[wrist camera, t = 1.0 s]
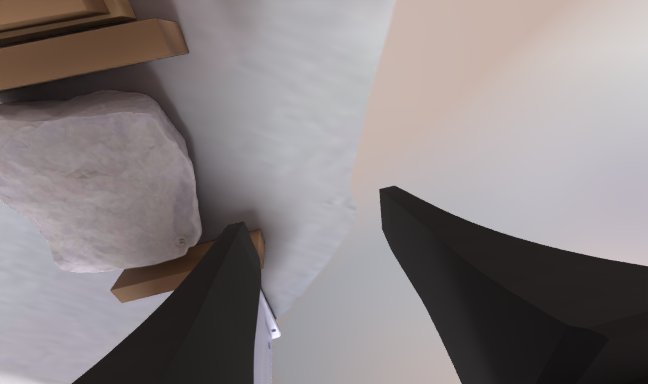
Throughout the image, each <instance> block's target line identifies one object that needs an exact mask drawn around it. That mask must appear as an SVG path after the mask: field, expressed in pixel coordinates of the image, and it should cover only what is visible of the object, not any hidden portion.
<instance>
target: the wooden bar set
mask: <svg viewBox="0 0 648 384" xmlns="http://www.w3.org/2000/svg"><path fill="white" fill-rule="evenodd" d="M187 53H189V51H188V49H187V46H186V44H185V41H184V39H183V36H182V34H181V31H180V29H179V26H178V24H177V22H172V21H167V20H163V19H158V18H151V19H146V20H141V21H136V22H131V23H126V24H121V25H116V26H111V27H106V28H101V29H96V30H91V31H86V32H81V33H76V34H71V35H66V36H61V37H56V38H50V39H45V40H40V41H35V42H30V43H25V44H20V45H15V46H10V47H5V48H0V92H2V91H7V90H12V89H17V88H22V87H27V86H32V85H36V84H41V83H46V82H51V81H56V80H61V79H66V78H70V77H75V76H80V75H85V74H90V73H95V72H100V71H104V70H109V69H114V68H119V67H124V66H129V65H134V64H138V63H143V62H148V61H153V60H158V59H163V58H168V57H172V56H177V55H182V54H187ZM249 234H250V237H251V239H252V241H253V244H254V246H255V248H256V251H257V253H258V255H259V257H260V264H261V269H262V268H263V265H264V249H265V242H264V239H263V237H262V234H261V232H260V230H257V231H253V232H249ZM215 241H216V240H215ZM215 241H211V242H207V243H203V244H199V245H195V246H193V247H189V248H188V251H187V253H186V254H185V255H183V256H181V257H178V258H175V259H173V260H168V261H165V262H161V263H158V264H155V265H149V266H142V267H135V268H128V269H124V271H123V272H122V274H121V275H120V277H119V278H118V280H117V281H116V283H115V284H114V286H113V287H112V288H111V290H110V291H111V292H112V293H113V294H114V295H115V296H116V297H117V298H118V299H119V301H120V302H121V303H124V302H128V301H132V300H137V299H141V298H145V297H149V296H153V295H157V294H161V293H165V292H169V291H173V290H175V289H176V288H177V287H178V286H179V285H180V284H181V282H182V281H183V280H184V279H185V278H186V277H187V276H188V274H189V273H190V272H191V271H192V270H193V269H194V267H195V266H196V265H197V264H198V263H199V261H200V260H201V259H202V258H203V256H204V255H205V254H206V253H207V251H208V250H209V249H210V247H211V246H212V245H213V244H214V242H215Z"/></svg>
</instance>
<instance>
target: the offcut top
mask: <svg viewBox="0 0 648 384" xmlns="http://www.w3.org/2000/svg"><path fill="white" fill-rule="evenodd" d="M106 14H110V12H109V10H108V8H107V6H106V4H105V2H104V0H0V33H3V32H9V31H14V30H20V29H26V28H32V27H37V26H43V25H49V24H55V23H60V22H66V21H72V20H78V19H83V18H89V17H95V16H100V15H106Z"/></svg>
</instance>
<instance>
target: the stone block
mask: <svg viewBox="0 0 648 384" xmlns="http://www.w3.org/2000/svg"><path fill="white" fill-rule="evenodd" d="M0 199H1V201H2V202H3V203H4V204H6V205H7V206H9V207H10V208H12V209H13V210H15V211H17V212H19V213H21V214H22V215H24V216H25V217H27V218H28V219H29V220H30V221H31V222H32V223H34V224H35V225H36V227H37V228H38V229H39V230H40V233H41V235H42V237H43V238H44V239H45V240H46V241H47V242H48V243H49V244H50V248H51V251H52V255H53V259H54V262H55V263H56V265H57V266H59V267H60V268H61V269H63V270H67V271H70V272H95V273H100V272H108V271H112V270H121V269H128V268H135V267H142V266H149V265H155V264H158V263H161V262H165V261H168V260H173V259H175V258H178V257H181V256H183V255H185V254H186V253H187V251H188V248H189V247H193V246H195V245H196V243H197V242H198V241H199V239H200V237H201V235H202V227H201V221H200V216H199V210H198V199H197V196H196V180H195V176H194V170H193V164H192V162H191V160H190V158H189V156H188V150H187V148H186V144H185V139H184V138H183V137H182V136H181V134H180V133H179V132H178V130H177V129H176V128H175V127H174V125H173V123H172V122H171V121H170V119H169V118H168V117H167V116H166V114H165V113H164V112H163V110H162V109H161V107H160V106H159V104H158V102H156V101H155V100H154V99H152V98H151V97H150V96H149V95H147V94H145V93H139V92H123V91H117V90H105V89H102V90H100V91H96V92H93V93H90V94H85V95H81V94H80V95H78V96H76V97H74V98H72V99H70V100H61V101H59V100H50V101H49V100H42V101H25V102H12V103H10V104H0Z"/></svg>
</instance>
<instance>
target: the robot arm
mask: <svg viewBox="0 0 648 384" xmlns="http://www.w3.org/2000/svg"><path fill="white" fill-rule="evenodd" d="M380 205H381V218H382V230H383V232H384V234H385V237H386V239H387V241H388V244H389V246H390V248H391V250H392V252H393V254H394V255H395V257H396V259H397V260H398V262H399V264H400V265H401V267H402V269H403V270H404V272H405V273H406V275H407V277H408V278H409V280H410V282H411V283H412V285H413V286H414V288H415V290H416V291H417V293H418V294H419V296H420V298H421V299H422V301H423V303H424V305H425V307H426V309H427V311H428V313H429V315H430V317H431V319H432V321H433V323H434V325H435V327H436V329H437V331H438V333H439V335H440V337H441V339H442V342H443V344H444V346H445V348H446V350H447V352H448V354H449V356H450V359H451V361H452V363H453V365H454V367H455V369H456V372H457V374H458V376H459V379H460V381H461V383H462V384H648V266H643V265H637V264H631V263H625V262H620V261H613V260H608V259H602V258H597V257H593V256H588V255H584V254H579V253H575V252H570V251H565V250H561V249H557V248H553V247H549V246H545V245H541V244H538V243H534V242H530V241H527V240H523V239H520V238H516V237H513V236H510V235H506V234H503V233H500V232H497V231H494V230H492V229H489V228H486V227H483V226H480V225H477V224H475V223H472V222H470V221H467V220H465V219H462V218H460V217H458V216H455V215H453V214H451V213H448V212H446V211H444V210H442V209H440V208H438V207H436V206H434V205H432V204H430V203H428V202H425V201H424V200H421V199H420V198H418V197H416V196H414V195H412V194H410V193H408V192H406V191H404V190H402V189H400V188H398V187H396V186H391V187H387V188H382V189H380ZM280 335H281V333H280V329H279V328H278V325H277V323H276V321H275V319H274V317H273V314H272V312H271V310H270V308H269V306H268V304H267V302H266V300H265V297H264V295H263V293H262V291H261V264H260V257H259V255H258V253H257V251H256V248H255V246H254V244H253V241H252V239H251V237H250V234H249V232H248V230H247V227H246V225H245V223H244V222H240V223H235V224H231V225H228V226H227V227H226V228H225V230H224V231H223V232H222V233H221V235H220V236H219V237H218V238H217V240H216V241H215V242H214V244H213V245H212V246H211V247H210V249H209V250H208V251H207V253H206V254H205V255H204V256H203V258H202V259H201V260H200V261H199V263H198V264H197V265H196V266H195V267H194V269H193V270H192V271H191V272H190V273H189V274H188V276H187V277H186V278H185V279H184V280H183V281H182V282H181V284H180V285H179V286H178V287H177V288H176V289H175V291H174V292H173V293H172V294H171V295H170V296H169V297H168V298H167V299H166V300H165V301H164V302H163V303H162V304H161V305H160V306H159V307H158V308H157V309H156V310H155V311H154V312H153V313H152V314H151V315H150V316H149V317H148V318H147V319H146V320H145V321H144V322H143V323H142V324H141V325H140V326H139V327H138V328H136V329H135V330H134V331H133V332H132V333H131V334H130V335H129V336H127V337H126V338H125V339H124V340H123V341H122V342H121V343H120V344H118V345H117V346H116V347H115V348H114V349H113V350H112V351H111V352H110V353H108V354H107V355H106V356H105V357H104V358H103V359H101V360H100V361H99V362H98V363H97V364H95V365H94V366H93V367H92V368H90V369H89V370H88V371H87V372H86V373H84V374H83V375H82V376H81V377H79V378H78V379H77V380H76V381H74V382H73V383H72V384H271V374H272V339H274V338H278V337H279V336H280Z"/></svg>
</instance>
